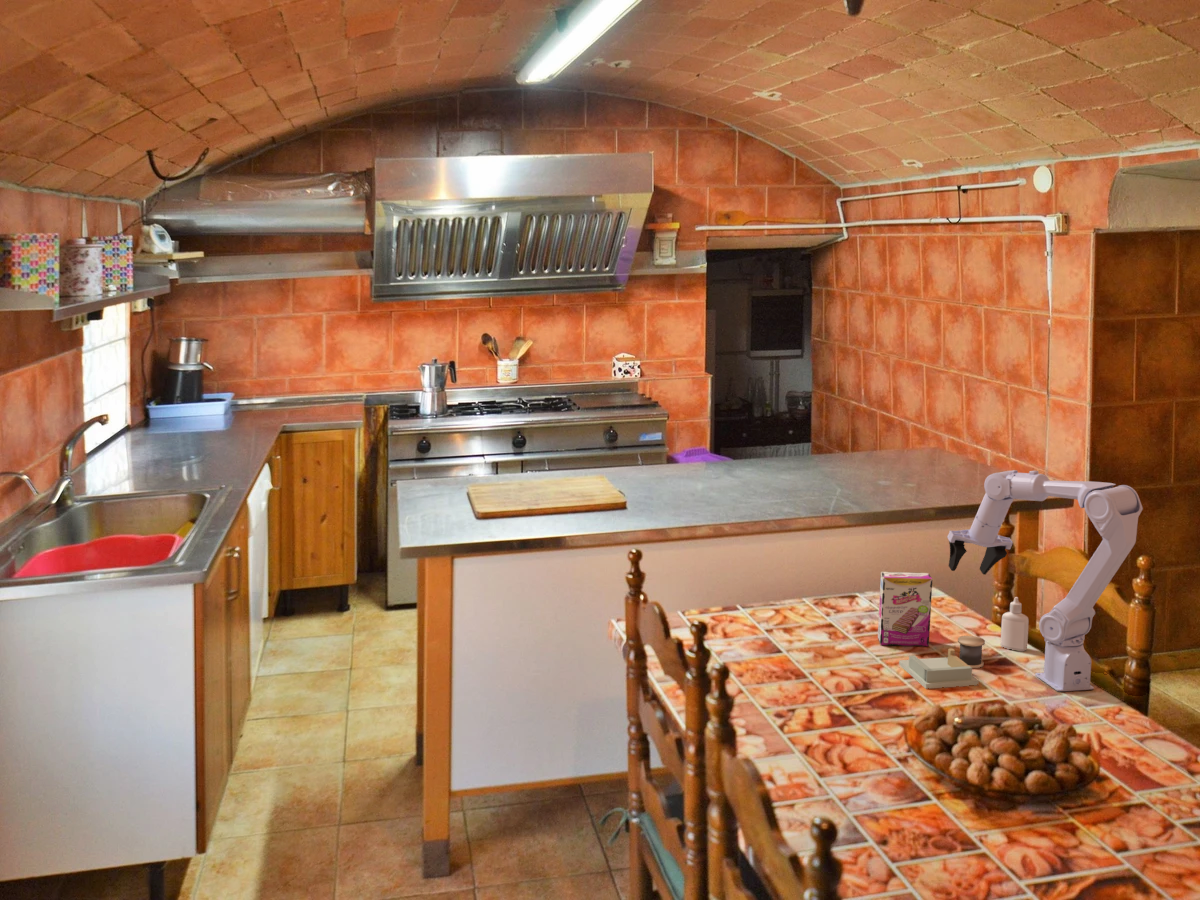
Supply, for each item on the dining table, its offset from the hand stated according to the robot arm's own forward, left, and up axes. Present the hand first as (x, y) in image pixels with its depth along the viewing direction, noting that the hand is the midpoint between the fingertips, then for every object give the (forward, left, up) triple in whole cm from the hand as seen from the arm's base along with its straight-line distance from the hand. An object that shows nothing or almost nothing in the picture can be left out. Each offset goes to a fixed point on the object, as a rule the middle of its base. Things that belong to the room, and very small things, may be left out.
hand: (967, 570), depth 254 cm
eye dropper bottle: (-2, -11, -19) cm, 22 cm away
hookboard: (-15, +13, -18) cm, 27 cm away
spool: (-10, +3, -18) cm, 21 cm away
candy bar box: (+5, +12, -19) cm, 23 cm away
